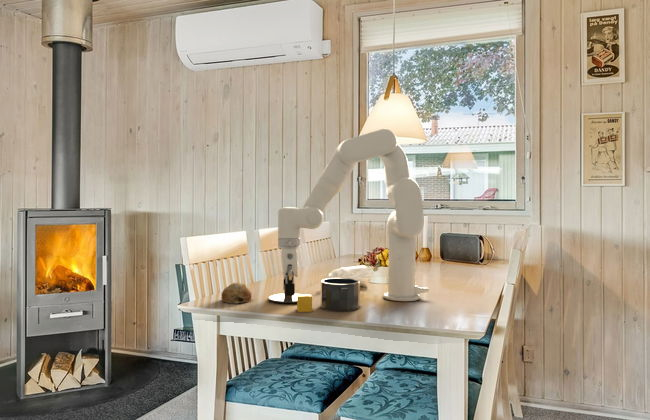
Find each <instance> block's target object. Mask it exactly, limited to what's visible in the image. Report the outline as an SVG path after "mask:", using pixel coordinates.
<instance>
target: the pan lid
mask: <svg viewBox="0 0 650 420" xmlns="http://www.w3.org/2000/svg"><path fill="white" fill-rule="evenodd" d="M283 287H284V289H283V293H276V294H273V295H270V296H268V300H269V301H271V302H274V303H278V304H297V295H298V294H299V293H295V295H294V296H285V284H284V283H283Z"/></svg>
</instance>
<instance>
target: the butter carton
mask: <svg viewBox="0 0 650 420" xmlns="http://www.w3.org/2000/svg"><path fill="white" fill-rule="evenodd" d="M297 294H298V295H297V303H296V311H297V312H298V313H312V312H313V296H312V294H310V293H309V294H308V293H305V294H304V293H303V294H302V293H297Z"/></svg>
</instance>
